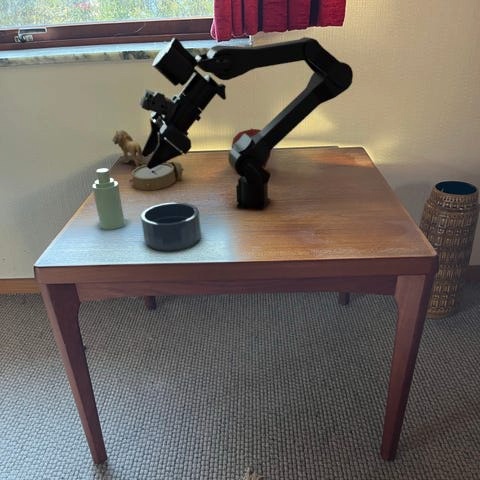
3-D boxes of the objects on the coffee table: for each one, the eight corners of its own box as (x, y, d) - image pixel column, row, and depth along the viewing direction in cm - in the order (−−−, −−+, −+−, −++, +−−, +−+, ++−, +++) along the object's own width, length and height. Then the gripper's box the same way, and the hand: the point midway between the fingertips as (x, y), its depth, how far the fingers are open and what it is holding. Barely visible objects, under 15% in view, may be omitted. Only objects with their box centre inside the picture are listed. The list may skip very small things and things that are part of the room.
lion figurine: (113, 161, 155) (108, 130, 150) (128, 157, 158) (123, 127, 153) (140, 171, 146) (135, 138, 141) (155, 166, 149) (151, 134, 144)
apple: (241, 164, 148) (239, 122, 141) (276, 167, 144) (276, 124, 138) (226, 176, 139) (224, 132, 133) (263, 179, 136) (263, 134, 129)
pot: (209, 231, 110) (207, 205, 106) (187, 255, 101) (184, 227, 97) (161, 226, 113) (157, 200, 110) (135, 249, 104) (130, 221, 101)
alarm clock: (122, 174, 135) (161, 150, 143) (127, 191, 138) (165, 167, 146) (151, 182, 129) (190, 156, 137) (156, 199, 132) (194, 173, 140)
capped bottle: (129, 221, 116) (120, 167, 109) (116, 230, 112) (106, 175, 105) (108, 218, 118) (98, 165, 111) (95, 228, 114) (84, 173, 107)
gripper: (154, 67, 109) (111, 126, 113) (168, 81, 94) (117, 148, 98) (194, 103, 115) (151, 158, 119) (212, 121, 100) (163, 184, 104)
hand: (145, 161), depth 110 cm, fingers open, 9 cm apart
